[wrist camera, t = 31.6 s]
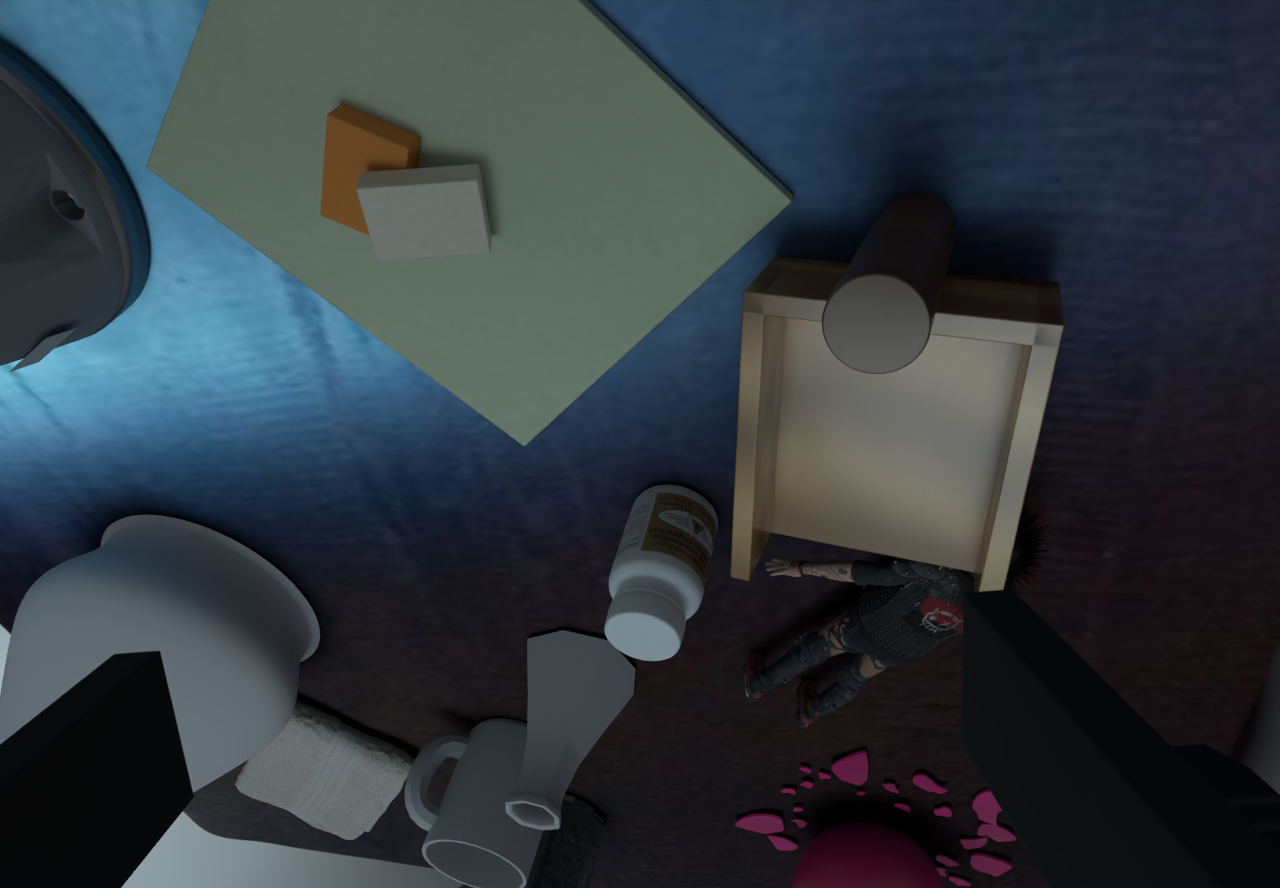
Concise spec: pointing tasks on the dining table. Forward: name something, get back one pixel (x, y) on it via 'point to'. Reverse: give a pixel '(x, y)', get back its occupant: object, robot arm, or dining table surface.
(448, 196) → the block
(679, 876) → the dining table surface
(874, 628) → the figurine
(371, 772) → the washcloth
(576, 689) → the flask
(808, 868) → the hatching egg
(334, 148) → the block
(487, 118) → the placemat
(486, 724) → the cup
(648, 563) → the pill bottle
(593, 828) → the camera
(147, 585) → the vase
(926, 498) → the open wooden box
